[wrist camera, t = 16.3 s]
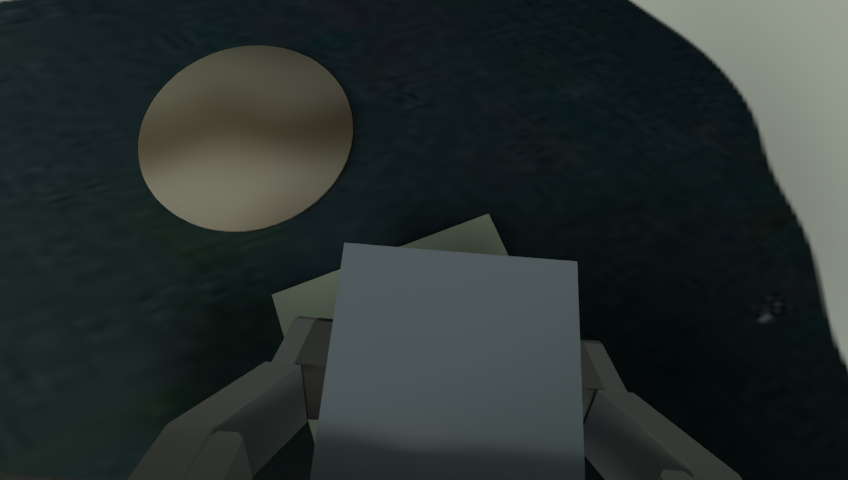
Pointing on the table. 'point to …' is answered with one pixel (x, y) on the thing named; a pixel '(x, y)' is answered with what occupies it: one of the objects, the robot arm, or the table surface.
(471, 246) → the sage mat
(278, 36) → the table surface
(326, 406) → the grey block
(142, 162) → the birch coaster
